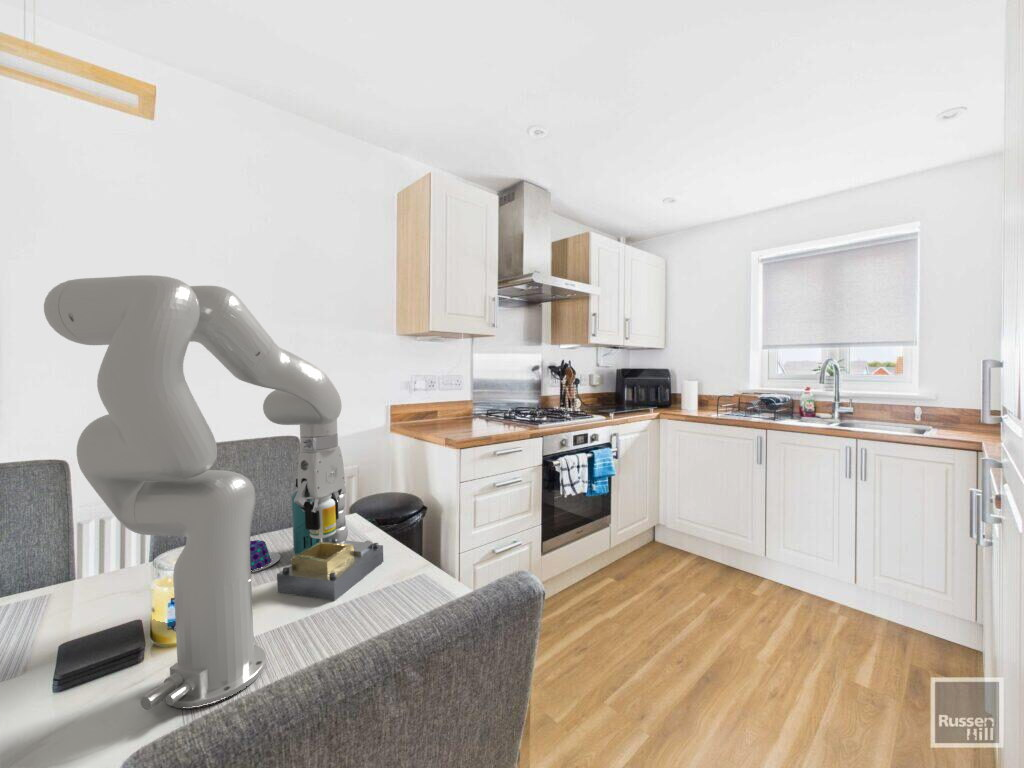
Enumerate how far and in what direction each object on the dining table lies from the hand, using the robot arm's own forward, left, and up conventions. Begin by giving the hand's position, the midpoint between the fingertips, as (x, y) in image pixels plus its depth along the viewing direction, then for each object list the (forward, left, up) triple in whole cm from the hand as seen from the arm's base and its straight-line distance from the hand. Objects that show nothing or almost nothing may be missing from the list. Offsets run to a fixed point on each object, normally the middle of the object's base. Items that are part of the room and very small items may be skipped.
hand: (322, 523), depth 95 cm
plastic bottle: (+18, +11, -13) cm, 25 cm away
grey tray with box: (+3, -1, -13) cm, 13 cm away
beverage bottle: (+10, +13, -13) cm, 21 cm away
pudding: (+3, +23, -13) cm, 27 cm away
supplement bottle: (0, 0, -3) cm, 3 cm away
